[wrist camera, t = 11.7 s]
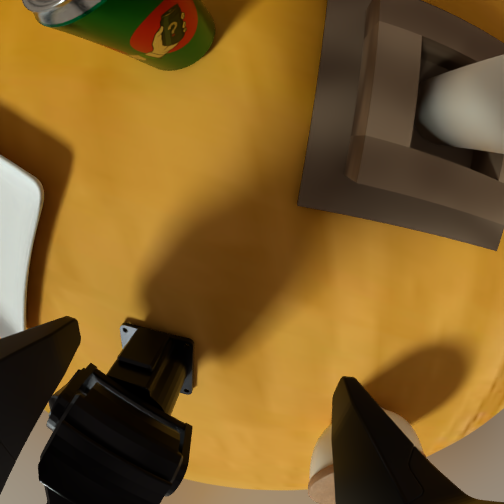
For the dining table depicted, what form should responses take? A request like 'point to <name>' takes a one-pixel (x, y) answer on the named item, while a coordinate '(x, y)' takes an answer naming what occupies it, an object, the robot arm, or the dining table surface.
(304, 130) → the dining table surface
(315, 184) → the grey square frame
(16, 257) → the salad plate
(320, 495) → the lidded jar
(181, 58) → the soda can
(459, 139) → the cream peg
